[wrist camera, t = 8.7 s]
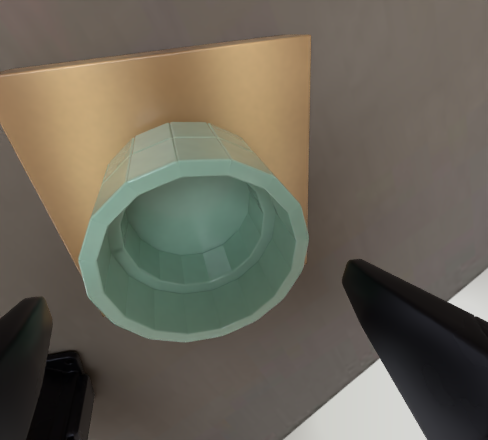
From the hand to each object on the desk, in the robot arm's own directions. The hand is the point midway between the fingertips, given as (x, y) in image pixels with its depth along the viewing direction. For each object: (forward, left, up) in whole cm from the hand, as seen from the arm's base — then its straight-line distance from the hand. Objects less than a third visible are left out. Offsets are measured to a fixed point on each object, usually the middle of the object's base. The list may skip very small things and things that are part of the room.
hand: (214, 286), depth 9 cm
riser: (0, 0, -9) cm, 9 cm away
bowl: (0, 0, -6) cm, 6 cm away
